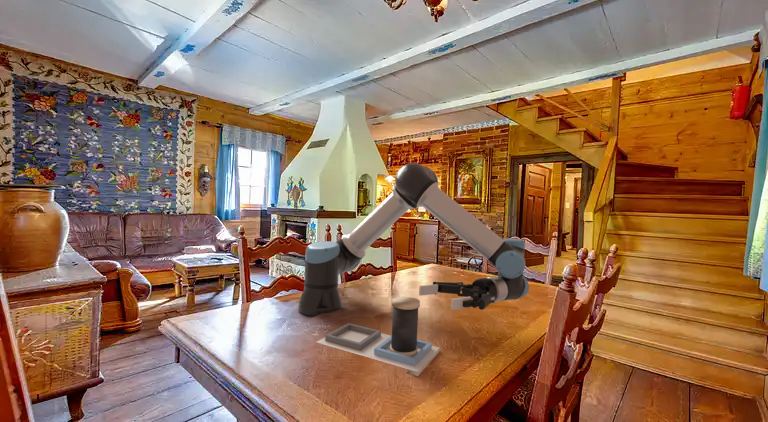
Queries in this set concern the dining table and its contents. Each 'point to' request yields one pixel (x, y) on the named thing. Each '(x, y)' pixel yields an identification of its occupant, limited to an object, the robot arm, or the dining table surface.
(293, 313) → the dining table surface
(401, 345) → the cable spool
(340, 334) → the grey flat tray
